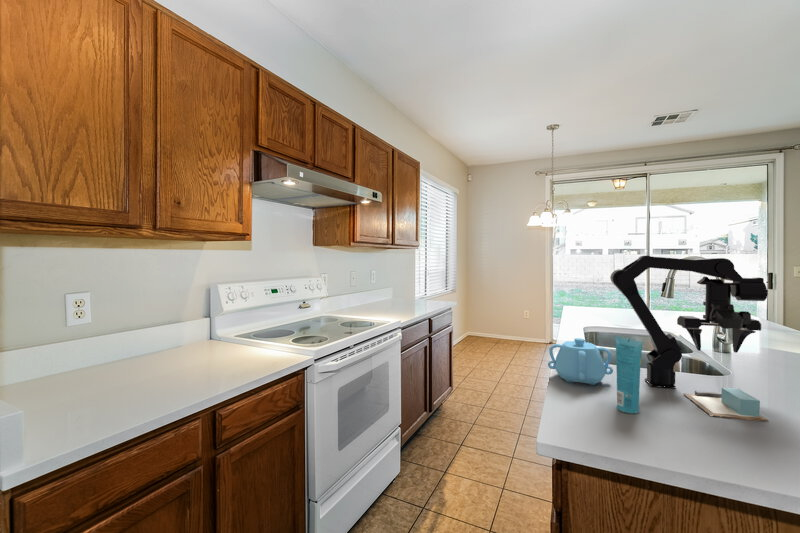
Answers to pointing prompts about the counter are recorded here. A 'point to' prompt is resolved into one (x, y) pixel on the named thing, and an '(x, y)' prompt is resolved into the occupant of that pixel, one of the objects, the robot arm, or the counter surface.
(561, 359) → the decorative pot
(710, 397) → the clipboard
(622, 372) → the tube
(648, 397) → the counter surface
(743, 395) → the light blue block
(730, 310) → the robot arm
